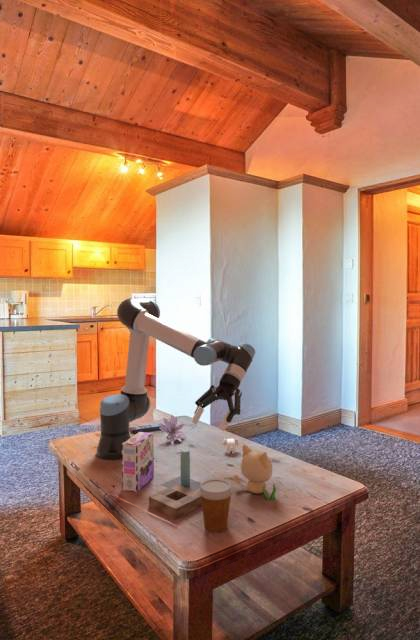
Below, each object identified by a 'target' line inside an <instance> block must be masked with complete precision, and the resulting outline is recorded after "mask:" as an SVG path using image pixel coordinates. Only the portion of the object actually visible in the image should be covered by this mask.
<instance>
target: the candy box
mask: <svg viewBox="0 0 420 640" xmlns="http://www.w3.org/2000/svg"><path fill="white" fill-rule="evenodd" d="M130 437H131V438H130V439H128V440H127V441H125V442H124V443H122V458H121V477H122V478H121V485H122V488H121V490H122V491H127V492H133V493H138V492H139V491H140V490H141V489H142V488H143V487H144V486H146V484H148V482H150V481H151V479H153V478H154V477H155V469H154V468H155V463H154V461H155V460H154V459H155V458H154V457H155V456H154V432H145V431H144V432H143V431H138V432H137V433H136V434H134V435H133V436H130Z"/></svg>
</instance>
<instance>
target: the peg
mask: <svg viewBox="0 0 420 640" xmlns="http://www.w3.org/2000/svg"><path fill="white" fill-rule="evenodd" d="M179 456H180V476H181V486H183V487H189V486H190V479H191V451H190V449H181V450H180V455H179Z"/></svg>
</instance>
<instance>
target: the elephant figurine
mask: <svg viewBox="0 0 420 640" xmlns="http://www.w3.org/2000/svg"><path fill="white" fill-rule="evenodd" d="M239 444H240V441H239V440H238V438H237V437H235V438H226V437H224V438H223V441H222V445H223V446H226V453H227V454H228V455H234V454H236V446H239Z"/></svg>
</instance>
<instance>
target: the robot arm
mask: <svg viewBox="0 0 420 640" xmlns="http://www.w3.org/2000/svg"><path fill="white" fill-rule="evenodd" d="M160 310H161V309H160V307H159V305H158V304H157V302H156V301H154V300H153V299H151V298H146V297H138V298H127V299H124V300H123V301H122V302H120V304H119V305H118V307H117V310H116V315H117V319H118V320H119V322H120V323H121V324H122V325H124V326H125V327H126V329H127V330H128V331H129V342H128V352H127V360H126V361H127V362H126V368H125V369H126V371H125V380H124V382H125V383H124V386H122V387H121V388H120V394H113V395H107V396H105V397H104V398H102V399H101V400H100V406H99V413H100V417H99V418H100V420H99V421H100V436H99V437H100V438H99V440H98V444H97V447H96V456H97V457H98V458H101V459H105V460H119V459H122V443H124V442H125V441H127V440H128V439H130V438H131V437H132V436H131V435H130V423H132V422H133V421H136V420H139V419H141V418H143V416H145V415H146V414H147V413H149V410H150V407H151V399H150V396H149V394H148V389H147V388H146V387H145V386H146V377H147V368H148V367H147V366H148V365H147V364H148V355H149V348H150V347H149V346H150V337H151V338H153V339H156V340H157V341H159V342H161V343H163V344H165V345H167V346H169V347H171V348H172V349H175V350H177V351H179V352H181V353H183V354H184V355H187V356H189V357H190V358H192V359H193V360H194V361H195V363H196V364H198V365H199V366H203V367H204V366H210V365H213V364H214V363H216V362H217V363H218V362H220V361H221V362H223V363H226V364H228V365H227V367H226V369H225V370H224V372H223V374H222V376H221V378H220V380H219V384H218V386H215V385H213V384H212V385H211V386H210V387H209V388H208V390H207V391H205V392H204V393H203V394H202V395H201V396H199V398H198V399H196V401H195V402H194V403H195V405H196V406H197V407H196V409H195V411H194V415H193V417H192V418H191V420H190V421H191V422H192V424H193V425H195V426H197V425H198V423H199V420H200V418H201V417H202V414H203V413H204V411H205V408H206V407H208V406H210V405H211V404H213V402H216V401H218V400H221V401H226V402H227V406H228V411H226V413H225V415H224V417H223V419H222V421H221V423H220V425H219V428H220V430H221V431H222V432H225V431H226V429H227V427H228V425H229V424H230V423H231V422H232V420H233V418H234V416H236V415H241V398H242V394H243V392H242V391H241V389H240V388H239V387H240V385H241V383H242V381H243V379H244V377H245V375H246V373H247V372H248V369H249V367H250V365H251V364H252V362H253V359H254V358H255V355H256V349H255V347H253V346H252V345H251V344H249V343H247V342H241V343H239V344H238V345H232V344H231V343H227V342H224V341H222V340H220V339H215V338H212V337H211V338H208V340H207V341H204V340H202V339H200V338H198V337H197V336H194V335H193V334H190V333H188V332H186V331H184V330H182V329H180V328H179V327H176V326H174V325H172V324H170V323H168V322H165V321H163V320H162V319H160V318H161V317H160V316H161V311H160ZM233 396H234V401H233ZM233 402H234V403H233Z"/></svg>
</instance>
